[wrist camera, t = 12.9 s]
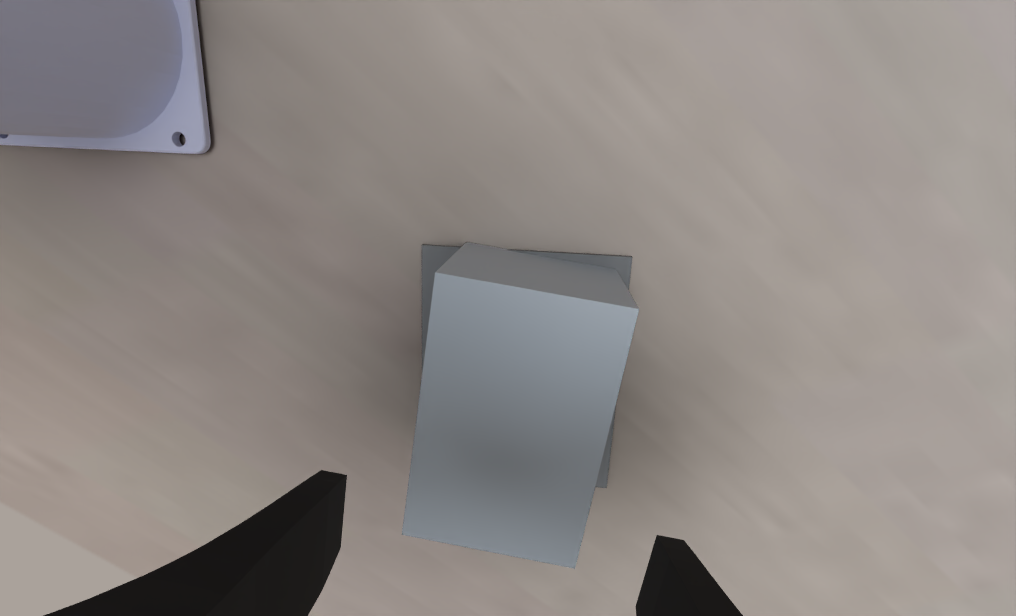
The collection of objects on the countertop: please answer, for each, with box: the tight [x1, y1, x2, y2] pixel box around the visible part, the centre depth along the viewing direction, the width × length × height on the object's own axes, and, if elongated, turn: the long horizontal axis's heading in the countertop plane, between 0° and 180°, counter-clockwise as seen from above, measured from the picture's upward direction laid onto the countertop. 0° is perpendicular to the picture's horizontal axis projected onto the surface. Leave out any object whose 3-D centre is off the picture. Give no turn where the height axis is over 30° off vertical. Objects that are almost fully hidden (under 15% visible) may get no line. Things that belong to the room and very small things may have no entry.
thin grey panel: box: [422, 244, 632, 488], centre depth 21 cm, size 8×10×1 cm
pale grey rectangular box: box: [402, 242, 639, 569], centre depth 19 cm, size 6×9×6 cm, turn 171°
